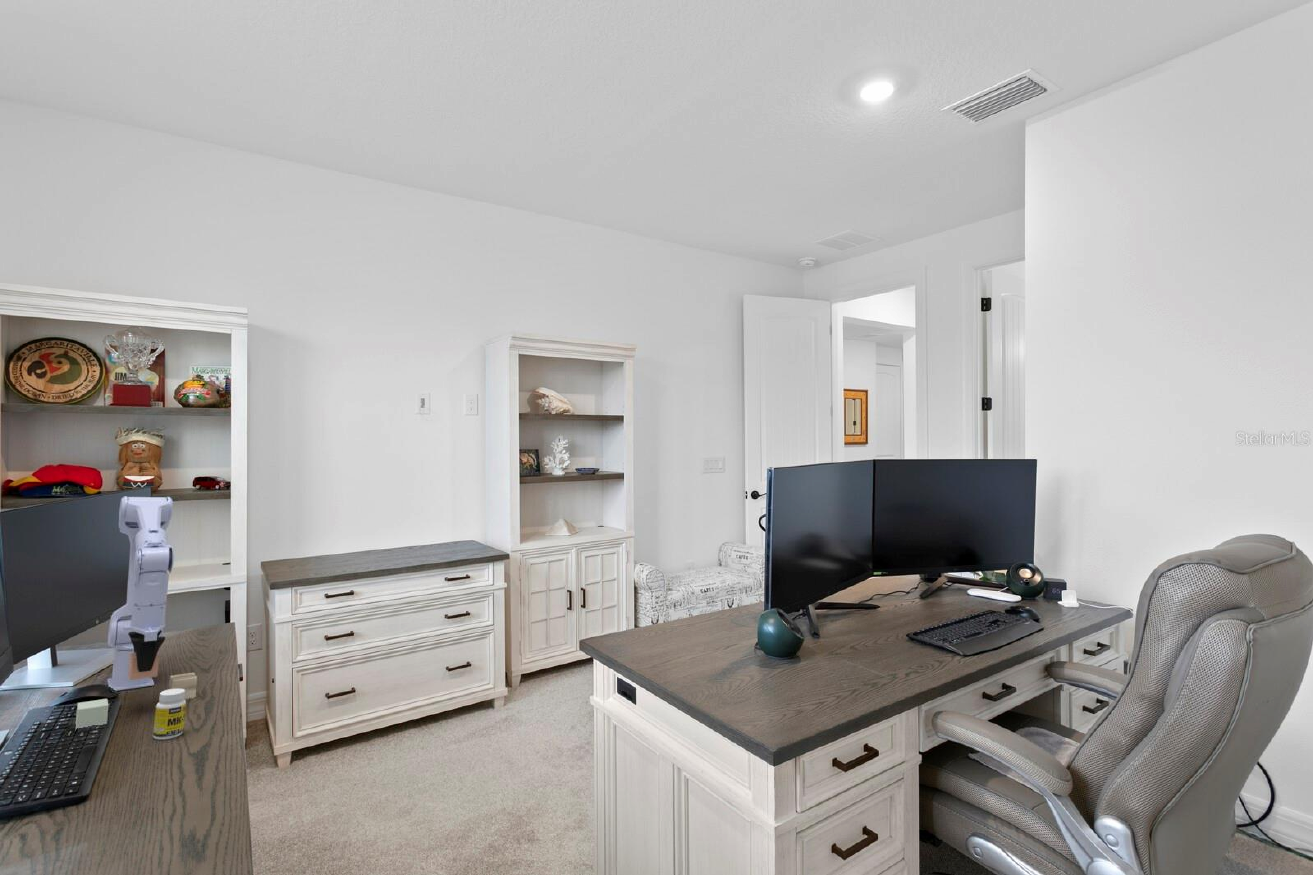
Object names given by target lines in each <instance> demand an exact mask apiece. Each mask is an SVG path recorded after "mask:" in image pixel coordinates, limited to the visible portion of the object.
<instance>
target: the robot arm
mask: <svg viewBox="0 0 1313 875" xmlns="http://www.w3.org/2000/svg"><path fill="white" fill-rule="evenodd" d="M119 502H120V504H119V511H118V528H119V532H120V533H121V534H125V535H127V537H128V540H129V541H128V542H129V544H130V547H129V562H128V576H127V588H126V589H127V590H126V592H127V593H126V603H125V604H124V605H122V606H121V607H119V608H118V609H117V610H115V611H113V612H112V615H110V619H109V620H110V622H109V625H108V626H109V627H108V631H107V632H108V635H107V644H108V646H109V647H110V648H114V652H113V653H114V654H113V664H112V674H111V678H107V684H108V685H107V686H108V688H109V687H111V688H113V689H114V690H115V691H114V692H117V691H118V692H119V691H125V690H132V689H138V688H144V687H145V688H146V687H150V686H151V687H152V686H154V685H155V682H154V680H153V677H149V678H141V679H134V680H130V678H129V675H128V673H129V663H130V653H134V652H136V657H137V667H138V671H139V672H145V671H151V669H152V667H153V664H154V661H155V658H156V655H157V652H158V653H159V650H160V648H161V647H162V644H163V643H164V642H165V640H166V637H165V636H163V633H164V628H166V622H165V620H166V611H167V610H166V609H167V600H168V599H167V598H168V588H169V579H170V574H171V573H172V571H173V567H174V563H175V562H174V561H175V554H174V546H172V545H170V544H169V540H168V534H167V531H166V530H167V528H168V527H169V524H170V521H171V520H172V517H173V516H172V515H173V504H174V502H173V499H172V498H171V497H170V496H165V497H162V496H159V497H158V496H156V497H153V496H151V497H149V496H148V497H147V496H126V495H124V496H123V497H122V498H120V501H119Z"/></svg>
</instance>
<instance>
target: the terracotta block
mask: <svg viewBox="0 0 1313 875" xmlns="http://www.w3.org/2000/svg"><path fill="white" fill-rule="evenodd" d="M159 662H160V653H159V651H158V652H157V655H156V658H155V661H154V664H153V667H152V669H151V671H145V672H139V671H138V667H137V657H136V652H134V653H130V663H129V673H128V675H129V678H130V680H134V679H141V678H149V677H152V678H155V677H158V671H159Z"/></svg>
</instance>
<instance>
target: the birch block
mask: <svg viewBox="0 0 1313 875" xmlns="http://www.w3.org/2000/svg"><path fill="white" fill-rule="evenodd" d="M197 686H198V677H197V675H196V673H195V672H188V673H181V674H175V675H169V687H168V690H169V689H184V690H185V696H184V698H183V699H185V700H190V699H195V698H194V697H196V696H197ZM189 698H190V699H189Z"/></svg>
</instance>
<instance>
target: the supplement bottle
mask: <svg viewBox="0 0 1313 875" xmlns="http://www.w3.org/2000/svg"><path fill="white" fill-rule="evenodd" d="M184 696H185V690H184V689H169V688H168V689H165V690H163V691H161V692H160V693H159V698H158V700H159V702H158V703H157V704H156V705H155V714H154V722H153V730H152V737H153V739H155V740H158V741H159V740H162V741H163V740H172V739H176V738H178V737H179V736H181V735H182V734H183V733H184V725H185V717H186V716H185V715H186V707H187V706H186V705H187V701H186V699H183V698H184Z"/></svg>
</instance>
